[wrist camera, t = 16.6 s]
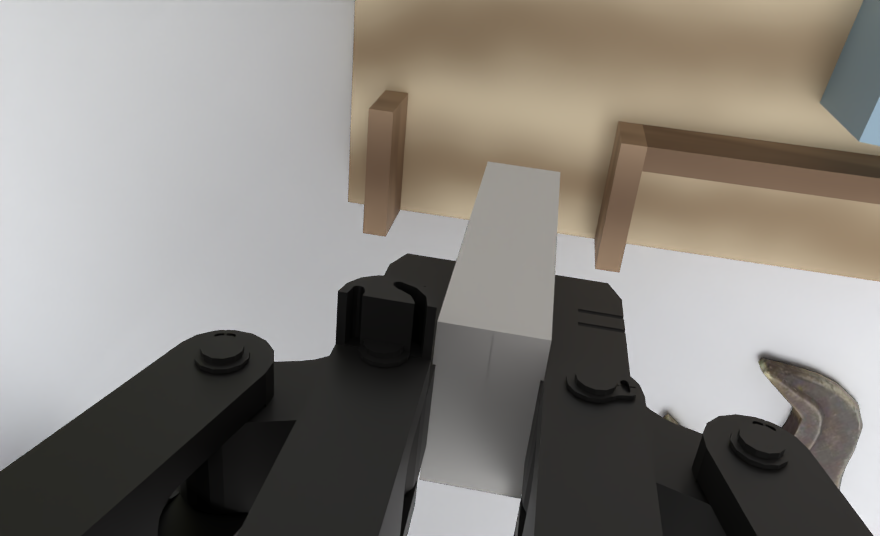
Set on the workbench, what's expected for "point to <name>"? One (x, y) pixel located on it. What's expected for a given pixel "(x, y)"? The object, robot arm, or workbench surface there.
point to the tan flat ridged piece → (622, 122)
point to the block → (858, 78)
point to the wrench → (817, 415)
